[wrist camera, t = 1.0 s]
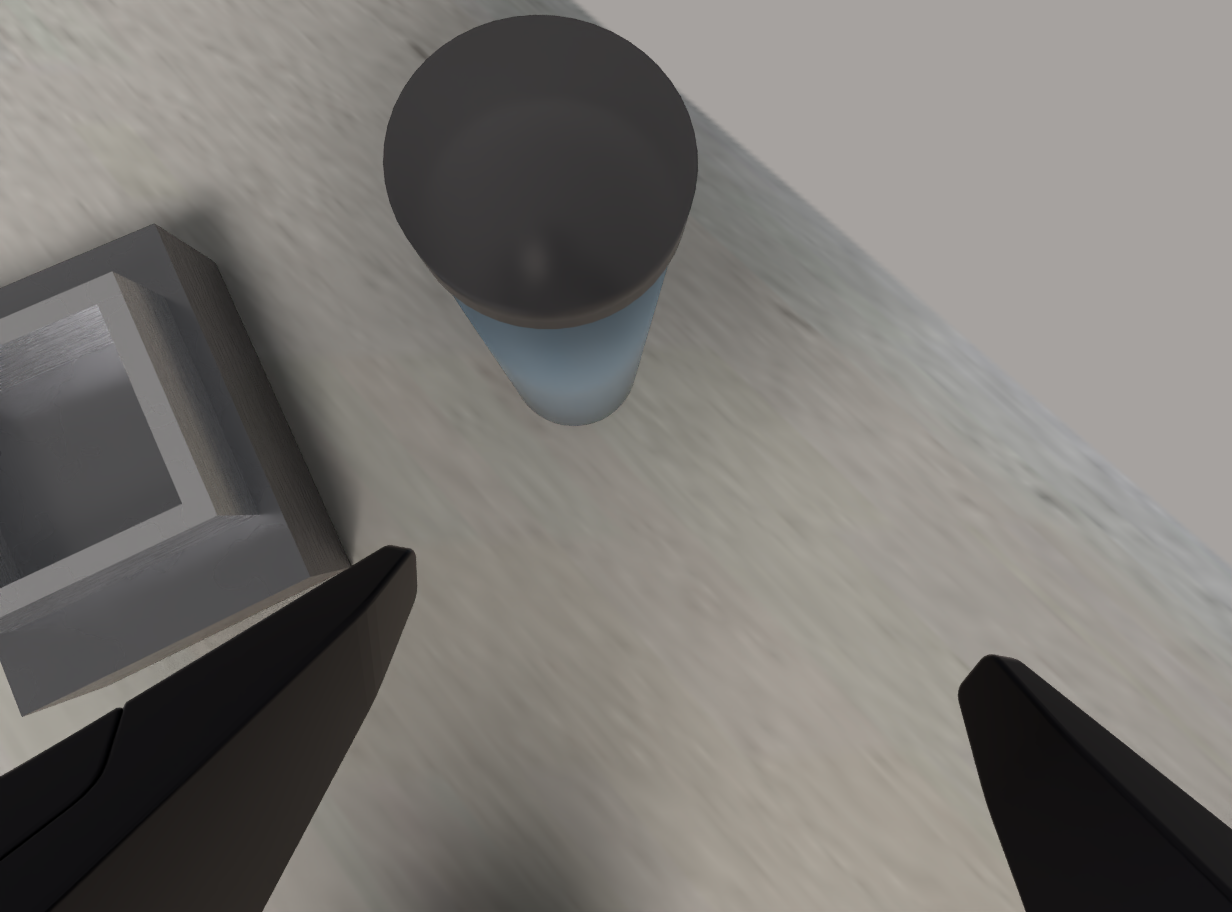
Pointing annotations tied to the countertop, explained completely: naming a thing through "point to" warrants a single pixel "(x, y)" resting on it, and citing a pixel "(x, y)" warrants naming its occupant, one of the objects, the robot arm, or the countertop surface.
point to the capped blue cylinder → (546, 199)
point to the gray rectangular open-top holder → (139, 470)
